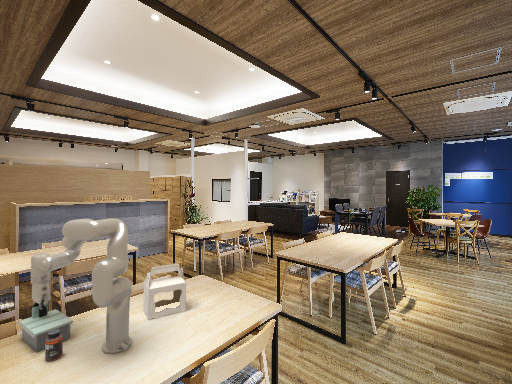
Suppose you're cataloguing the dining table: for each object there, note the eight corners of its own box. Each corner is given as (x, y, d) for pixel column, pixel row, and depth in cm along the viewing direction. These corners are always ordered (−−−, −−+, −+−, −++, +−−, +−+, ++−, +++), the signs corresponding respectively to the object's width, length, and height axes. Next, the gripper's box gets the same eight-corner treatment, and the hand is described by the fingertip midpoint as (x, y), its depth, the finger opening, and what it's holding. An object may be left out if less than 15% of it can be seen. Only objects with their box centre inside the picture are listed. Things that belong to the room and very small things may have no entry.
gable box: (147, 320, 145) (148, 270, 144) (142, 311, 155) (143, 264, 155) (186, 310, 157) (187, 264, 157) (179, 302, 168) (180, 259, 168)
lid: (73, 324, 126) (73, 309, 126) (34, 339, 113) (35, 322, 113) (55, 313, 136) (56, 299, 136) (19, 325, 124) (19, 310, 124)
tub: (69, 338, 125) (70, 322, 125) (36, 352, 114) (36, 334, 114) (54, 327, 135) (54, 312, 135) (22, 339, 124) (22, 322, 124)
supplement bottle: (60, 351, 116) (60, 326, 116) (64, 357, 112) (64, 331, 112) (43, 357, 111) (43, 331, 111) (46, 363, 107) (47, 336, 107)
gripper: (56, 280, 127) (56, 316, 127) (43, 273, 137) (42, 306, 137) (37, 284, 121) (37, 322, 121) (24, 277, 130) (24, 312, 130)
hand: (40, 313), depth 129 cm, fingers open, 6 cm apart
